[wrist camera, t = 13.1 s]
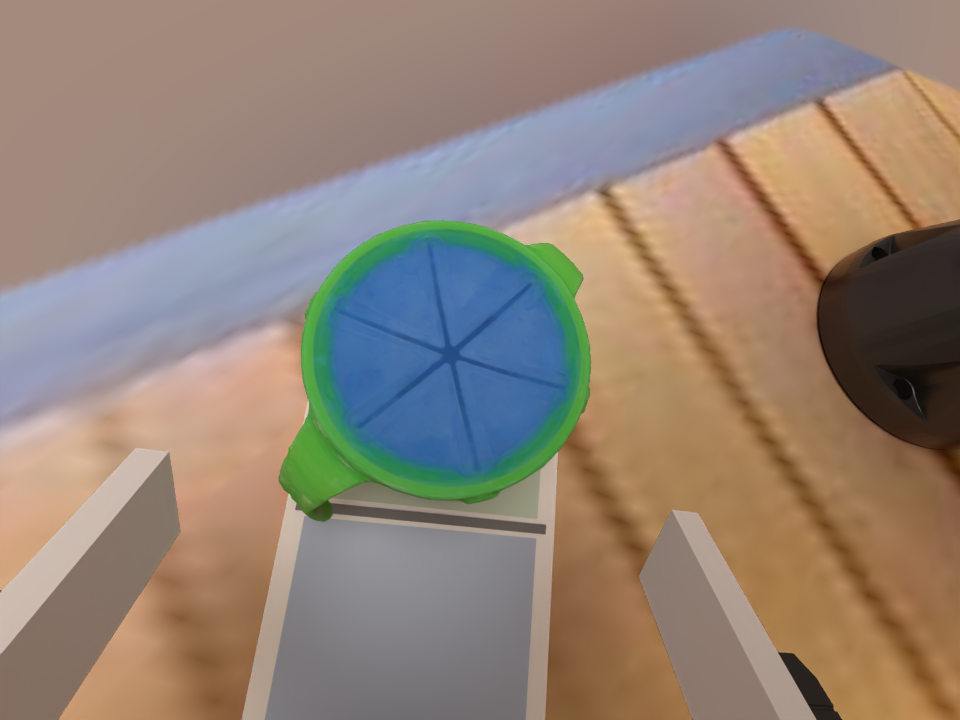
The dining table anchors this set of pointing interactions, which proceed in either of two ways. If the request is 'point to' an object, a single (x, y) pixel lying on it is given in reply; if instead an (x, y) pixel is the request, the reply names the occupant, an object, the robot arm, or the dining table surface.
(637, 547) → the dining table surface
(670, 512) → the robot arm
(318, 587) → the picture board
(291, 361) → the dining table surface
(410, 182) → the dining table surface
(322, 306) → the snack cup
